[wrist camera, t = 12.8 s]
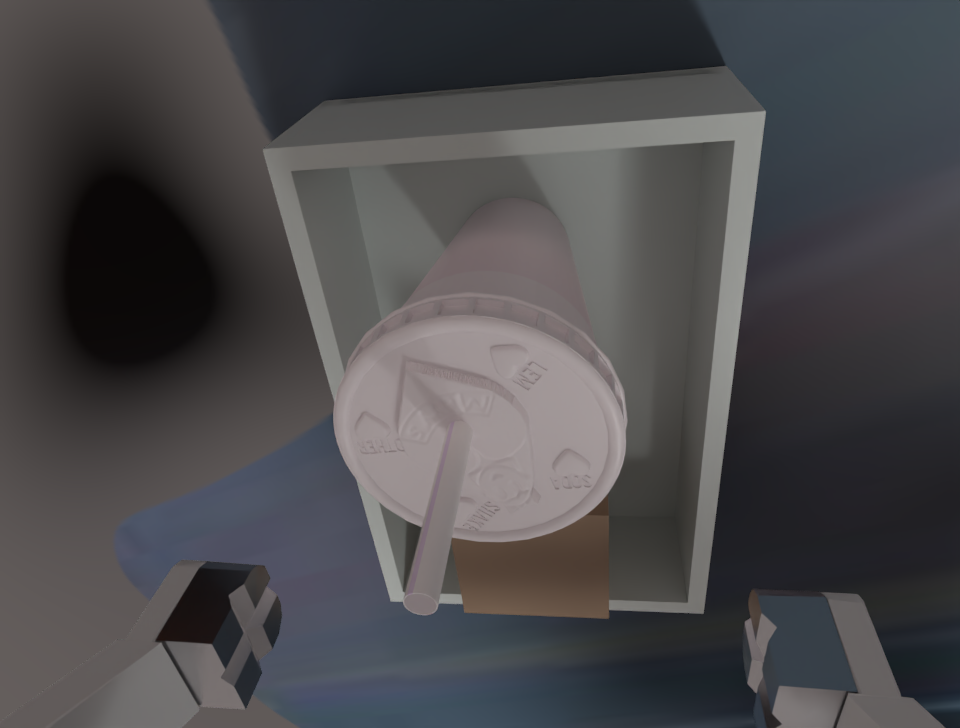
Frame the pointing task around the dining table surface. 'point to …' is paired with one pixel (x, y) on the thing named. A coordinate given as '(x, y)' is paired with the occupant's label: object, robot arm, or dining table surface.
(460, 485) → the smoothie
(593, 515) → the walnut block
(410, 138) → the crate
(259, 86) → the dining table surface
